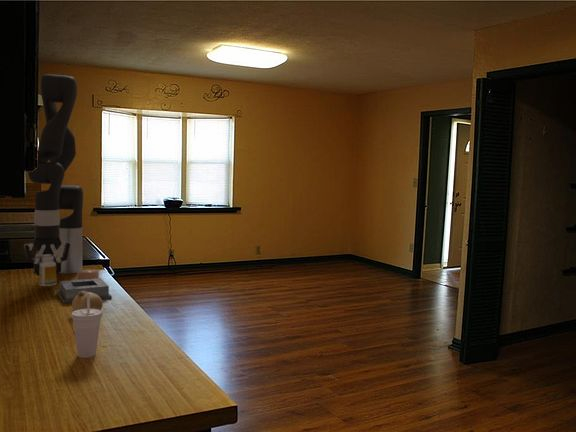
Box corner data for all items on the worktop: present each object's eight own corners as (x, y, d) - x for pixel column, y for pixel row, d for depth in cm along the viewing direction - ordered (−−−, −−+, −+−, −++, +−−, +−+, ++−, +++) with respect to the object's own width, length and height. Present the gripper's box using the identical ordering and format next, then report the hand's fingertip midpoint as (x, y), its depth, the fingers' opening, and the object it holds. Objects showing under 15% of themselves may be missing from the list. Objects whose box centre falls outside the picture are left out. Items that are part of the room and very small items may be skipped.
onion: (85, 310, 152) (85, 285, 151) (108, 313, 149) (108, 288, 149) (65, 317, 144) (65, 291, 144) (89, 320, 142) (89, 295, 141)
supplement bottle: (59, 283, 176) (59, 254, 175) (51, 286, 171) (50, 257, 170) (44, 282, 177) (44, 253, 176) (35, 285, 171) (35, 256, 170)
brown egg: (75, 284, 183) (75, 270, 183) (96, 282, 187) (96, 268, 186) (79, 288, 177) (79, 273, 177) (100, 286, 181) (100, 272, 180)
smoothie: (83, 362, 112) (83, 298, 111) (64, 355, 115) (64, 293, 114) (108, 354, 117) (108, 292, 116) (89, 347, 121) (89, 288, 120)
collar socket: (56, 293, 169) (56, 281, 169) (102, 289, 177) (102, 277, 176) (63, 303, 157) (63, 290, 157) (111, 298, 165) (111, 286, 164)
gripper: (68, 221, 178) (69, 270, 180) (21, 222, 171) (22, 273, 173) (72, 224, 172) (72, 274, 174) (23, 225, 165) (24, 278, 166)
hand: (47, 274), depth 173 cm, fingers closed on supplement bottle, 5 cm apart
